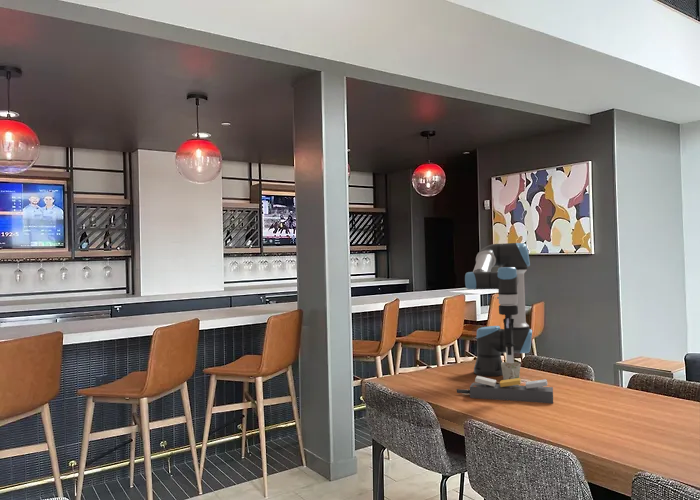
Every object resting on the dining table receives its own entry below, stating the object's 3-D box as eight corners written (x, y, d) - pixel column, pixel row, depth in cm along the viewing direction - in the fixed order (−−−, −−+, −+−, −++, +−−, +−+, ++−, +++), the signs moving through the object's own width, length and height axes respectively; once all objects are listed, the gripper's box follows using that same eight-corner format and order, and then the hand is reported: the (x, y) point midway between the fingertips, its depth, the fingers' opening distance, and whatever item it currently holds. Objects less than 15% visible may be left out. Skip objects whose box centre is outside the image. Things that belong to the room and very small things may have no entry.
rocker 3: (527, 385, 216) (526, 381, 216) (547, 383, 213) (546, 379, 213) (526, 388, 211) (525, 384, 211) (547, 385, 208) (546, 381, 208)
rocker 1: (476, 379, 223) (477, 375, 223) (495, 383, 220) (496, 380, 220) (474, 381, 218) (475, 378, 218) (494, 386, 216) (495, 382, 216)
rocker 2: (501, 384, 219) (500, 380, 220) (521, 381, 217) (520, 377, 217) (500, 387, 215) (499, 383, 215) (520, 384, 212) (519, 380, 212)
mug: (518, 383, 240) (518, 361, 241) (525, 390, 228) (524, 367, 228) (500, 383, 241) (499, 361, 241) (505, 390, 229) (504, 367, 229)
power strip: (458, 392, 227) (458, 379, 227) (553, 398, 213) (552, 385, 214) (455, 396, 220) (455, 383, 220) (553, 403, 206) (552, 389, 206)
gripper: (500, 303, 224) (502, 359, 223) (497, 306, 212) (498, 365, 211) (518, 303, 221) (520, 360, 221) (516, 306, 209) (518, 366, 209)
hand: (510, 362), depth 216 cm, fingers closed
